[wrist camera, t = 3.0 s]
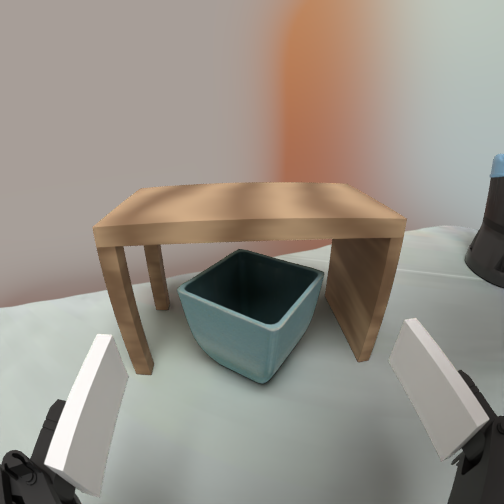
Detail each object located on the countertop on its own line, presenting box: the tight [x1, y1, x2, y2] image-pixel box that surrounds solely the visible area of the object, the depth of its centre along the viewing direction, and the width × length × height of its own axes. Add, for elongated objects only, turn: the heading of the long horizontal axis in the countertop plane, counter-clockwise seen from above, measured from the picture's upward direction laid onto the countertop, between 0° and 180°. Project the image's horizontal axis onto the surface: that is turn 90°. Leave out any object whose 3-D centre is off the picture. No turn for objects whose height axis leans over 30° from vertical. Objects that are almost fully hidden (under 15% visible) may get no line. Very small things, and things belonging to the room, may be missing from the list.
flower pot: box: [177, 249, 324, 383], centre depth 24 cm, size 9×9×9 cm
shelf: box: [93, 182, 407, 375], centre depth 26 cm, size 22×12×14 cm, turn 94°
